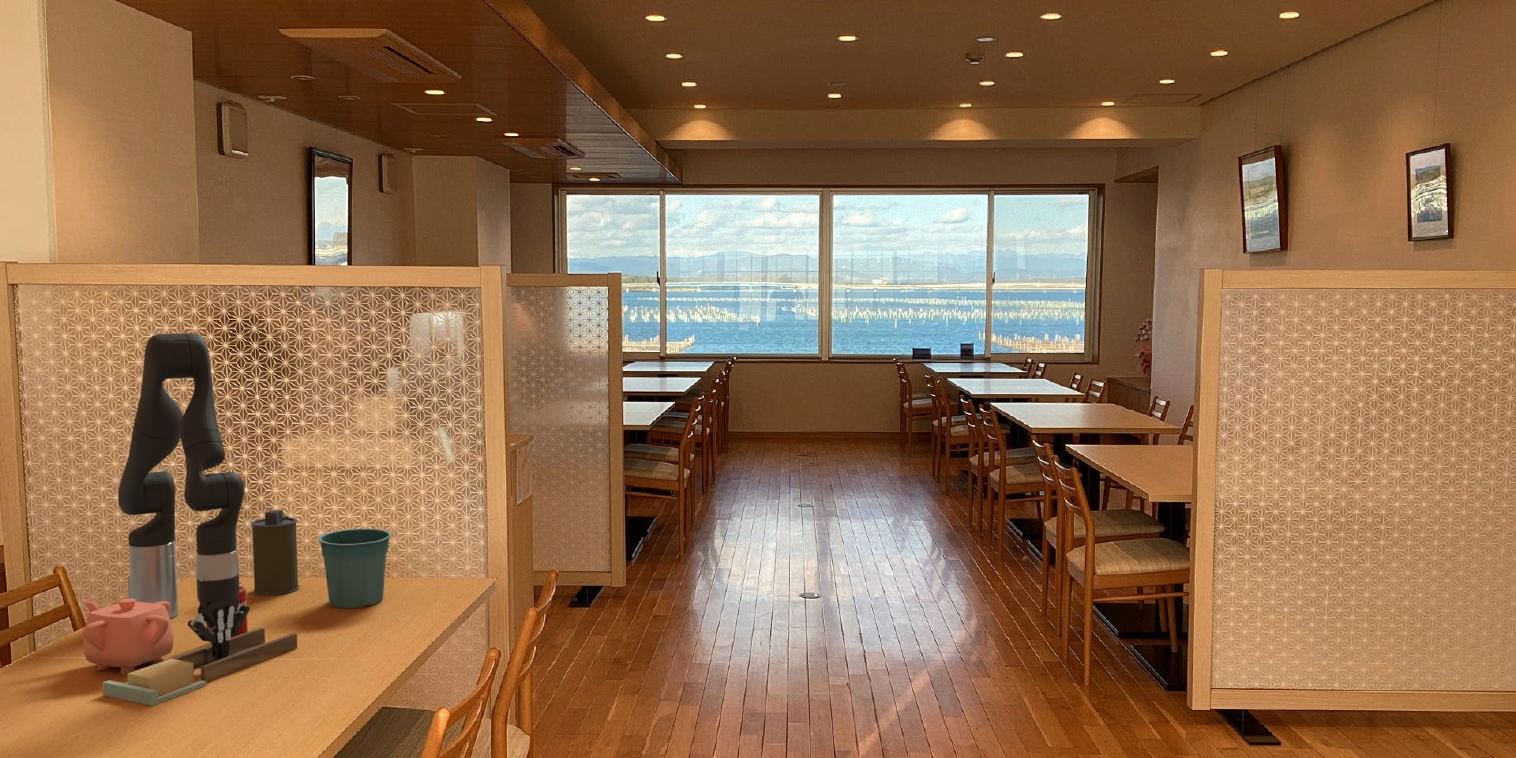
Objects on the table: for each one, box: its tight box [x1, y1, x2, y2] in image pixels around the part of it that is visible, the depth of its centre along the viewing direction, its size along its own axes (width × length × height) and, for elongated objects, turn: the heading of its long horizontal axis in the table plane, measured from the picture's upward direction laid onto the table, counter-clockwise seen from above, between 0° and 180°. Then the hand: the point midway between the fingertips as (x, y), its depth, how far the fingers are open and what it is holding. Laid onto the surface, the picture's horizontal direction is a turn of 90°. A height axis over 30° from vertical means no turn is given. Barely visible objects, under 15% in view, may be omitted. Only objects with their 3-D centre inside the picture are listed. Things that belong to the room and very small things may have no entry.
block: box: [126, 658, 195, 696], centre depth 202 cm, size 6×9×4 cm, turn 156°
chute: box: [167, 627, 298, 683], centre depth 217 cm, size 10×22×3 cm, turn 156°
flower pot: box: [317, 528, 392, 609], centre depth 258 cm, size 16×16×16 cm
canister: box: [250, 509, 300, 597], centre depth 268 cm, size 11×10×20 cm
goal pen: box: [102, 679, 207, 707], centre depth 201 cm, size 13×11×2 cm
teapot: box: [82, 598, 175, 675], centre depth 214 cm, size 17×16×13 cm
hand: (220, 659), depth 214 cm, fingers closed
